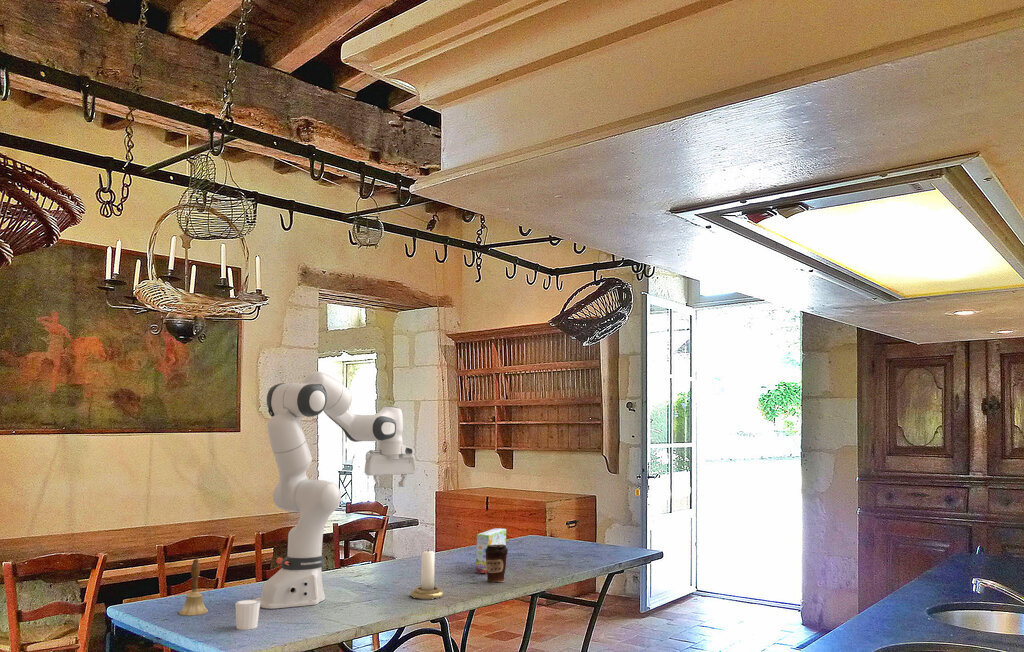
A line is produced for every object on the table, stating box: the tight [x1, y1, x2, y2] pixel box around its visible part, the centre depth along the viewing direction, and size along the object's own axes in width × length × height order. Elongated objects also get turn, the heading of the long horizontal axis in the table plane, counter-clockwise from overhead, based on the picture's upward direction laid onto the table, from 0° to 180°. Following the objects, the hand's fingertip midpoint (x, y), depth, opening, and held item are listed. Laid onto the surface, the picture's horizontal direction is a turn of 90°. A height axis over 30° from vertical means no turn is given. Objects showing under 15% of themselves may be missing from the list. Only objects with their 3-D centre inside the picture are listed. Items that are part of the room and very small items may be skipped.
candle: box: [420, 549, 436, 591], centre depth 271 cm, size 4×4×14 cm
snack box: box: [475, 527, 507, 575], centre depth 322 cm, size 21×6×15 cm, turn 161°
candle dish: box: [410, 585, 445, 600], centre depth 270 cm, size 11×11×2 cm
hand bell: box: [178, 558, 209, 617], centre depth 246 cm, size 8×8×16 cm
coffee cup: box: [485, 544, 509, 583], centre depth 297 cm, size 9×8×13 cm
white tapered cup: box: [234, 599, 261, 631], centre depth 229 cm, size 7×7×7 cm
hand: (390, 487), depth 300 cm, fingers open, 8 cm apart
